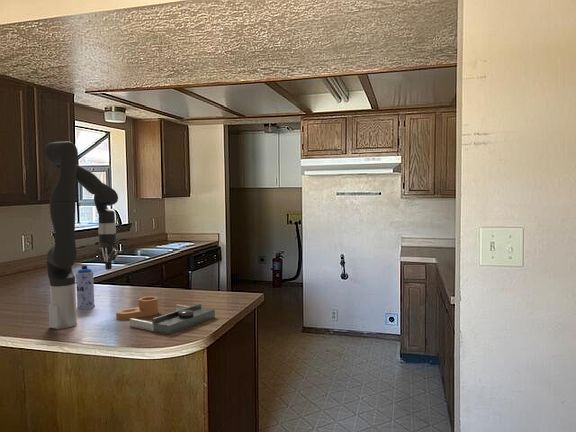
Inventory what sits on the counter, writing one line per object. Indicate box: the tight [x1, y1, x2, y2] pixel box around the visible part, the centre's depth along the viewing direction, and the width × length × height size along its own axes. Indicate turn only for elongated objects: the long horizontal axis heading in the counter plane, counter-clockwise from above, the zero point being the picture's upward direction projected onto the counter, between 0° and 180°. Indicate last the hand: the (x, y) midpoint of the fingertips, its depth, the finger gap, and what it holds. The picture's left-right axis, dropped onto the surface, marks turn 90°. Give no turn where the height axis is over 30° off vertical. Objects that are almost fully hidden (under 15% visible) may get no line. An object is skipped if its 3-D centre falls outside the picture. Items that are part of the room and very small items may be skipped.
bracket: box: [115, 296, 159, 321], centre depth 193 cm, size 18×8×7 cm, turn 123°
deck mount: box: [129, 303, 216, 336], centre depth 182 cm, size 26×22×5 cm
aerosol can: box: [75, 265, 96, 310], centre depth 208 cm, size 8×8×20 cm
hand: (108, 269), depth 203 cm, fingers closed
